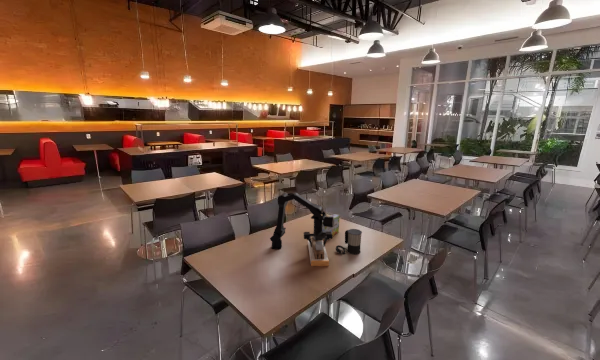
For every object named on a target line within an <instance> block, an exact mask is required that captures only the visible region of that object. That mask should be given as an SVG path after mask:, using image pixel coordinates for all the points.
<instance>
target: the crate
mask: <svg viewBox="0 0 600 360" xmlns="http://www.w3.org/2000/svg"><path fill="white" fill-rule="evenodd" d="M315 248H316V250H322V241H321V242H316V244H315Z"/></svg>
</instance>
